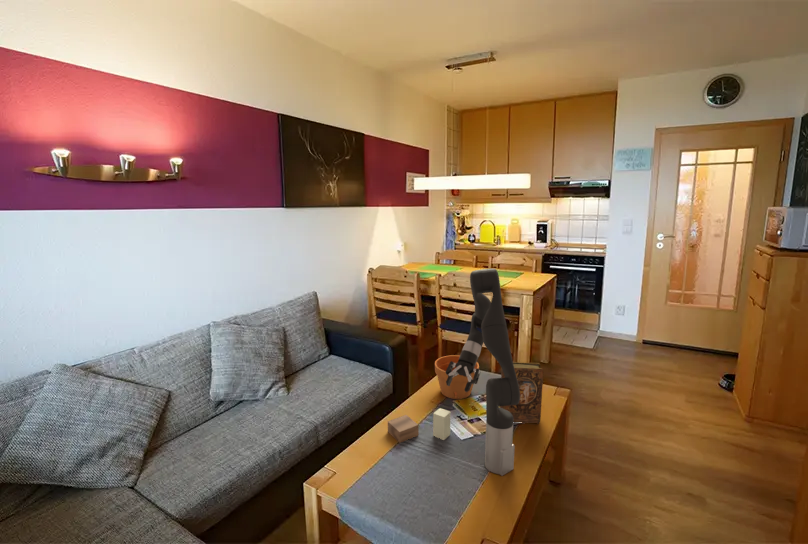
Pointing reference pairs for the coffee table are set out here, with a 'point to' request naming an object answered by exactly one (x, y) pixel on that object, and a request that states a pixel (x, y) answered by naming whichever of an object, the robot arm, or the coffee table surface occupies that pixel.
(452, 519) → the coffee table surface
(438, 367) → the flower pot
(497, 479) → the coffee table surface
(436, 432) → the cream rectangular block
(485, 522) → the coffee table surface
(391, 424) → the walnut base block
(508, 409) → the book
